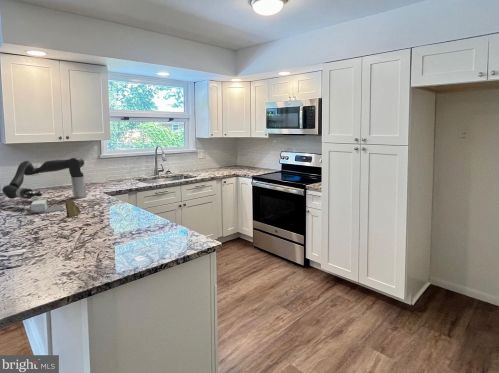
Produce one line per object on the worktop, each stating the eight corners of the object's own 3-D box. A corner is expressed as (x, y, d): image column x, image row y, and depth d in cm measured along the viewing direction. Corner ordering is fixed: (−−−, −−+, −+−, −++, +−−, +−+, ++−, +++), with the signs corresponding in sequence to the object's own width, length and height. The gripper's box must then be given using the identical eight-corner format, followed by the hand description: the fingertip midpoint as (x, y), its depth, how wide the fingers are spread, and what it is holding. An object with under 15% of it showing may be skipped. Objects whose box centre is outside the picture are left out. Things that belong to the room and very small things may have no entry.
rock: (78, 208, 228) (62, 209, 221) (81, 199, 225) (65, 200, 217) (82, 220, 223) (66, 221, 216) (86, 211, 219) (70, 212, 212)
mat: (59, 206, 245) (59, 205, 245) (64, 209, 234) (64, 209, 234) (34, 210, 235) (34, 209, 235) (38, 214, 224) (38, 213, 224)
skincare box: (46, 199, 241) (45, 202, 228) (47, 207, 242) (46, 211, 229) (32, 200, 237) (30, 204, 224) (33, 208, 238) (31, 212, 225)
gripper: (34, 196, 253) (49, 197, 246) (16, 200, 241) (32, 201, 234) (32, 186, 251) (48, 187, 245) (14, 190, 239) (31, 191, 233)
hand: (40, 194), depth 239 cm, fingers closed
